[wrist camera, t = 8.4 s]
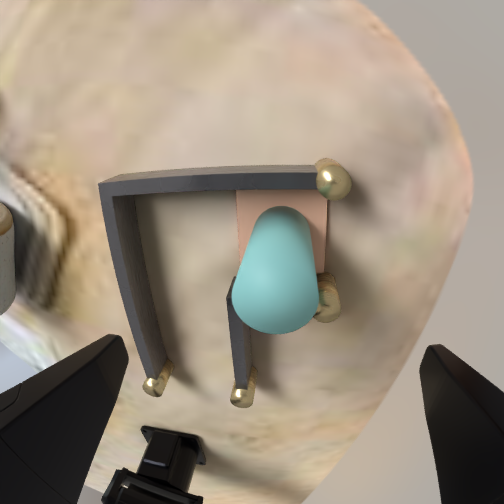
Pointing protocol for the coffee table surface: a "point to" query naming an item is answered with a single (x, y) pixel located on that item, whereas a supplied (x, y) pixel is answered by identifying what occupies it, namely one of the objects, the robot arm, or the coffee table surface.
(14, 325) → the coffee table surface
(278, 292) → the peg
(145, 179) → the metal rail track
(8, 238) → the ceramic mug
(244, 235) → the pad
